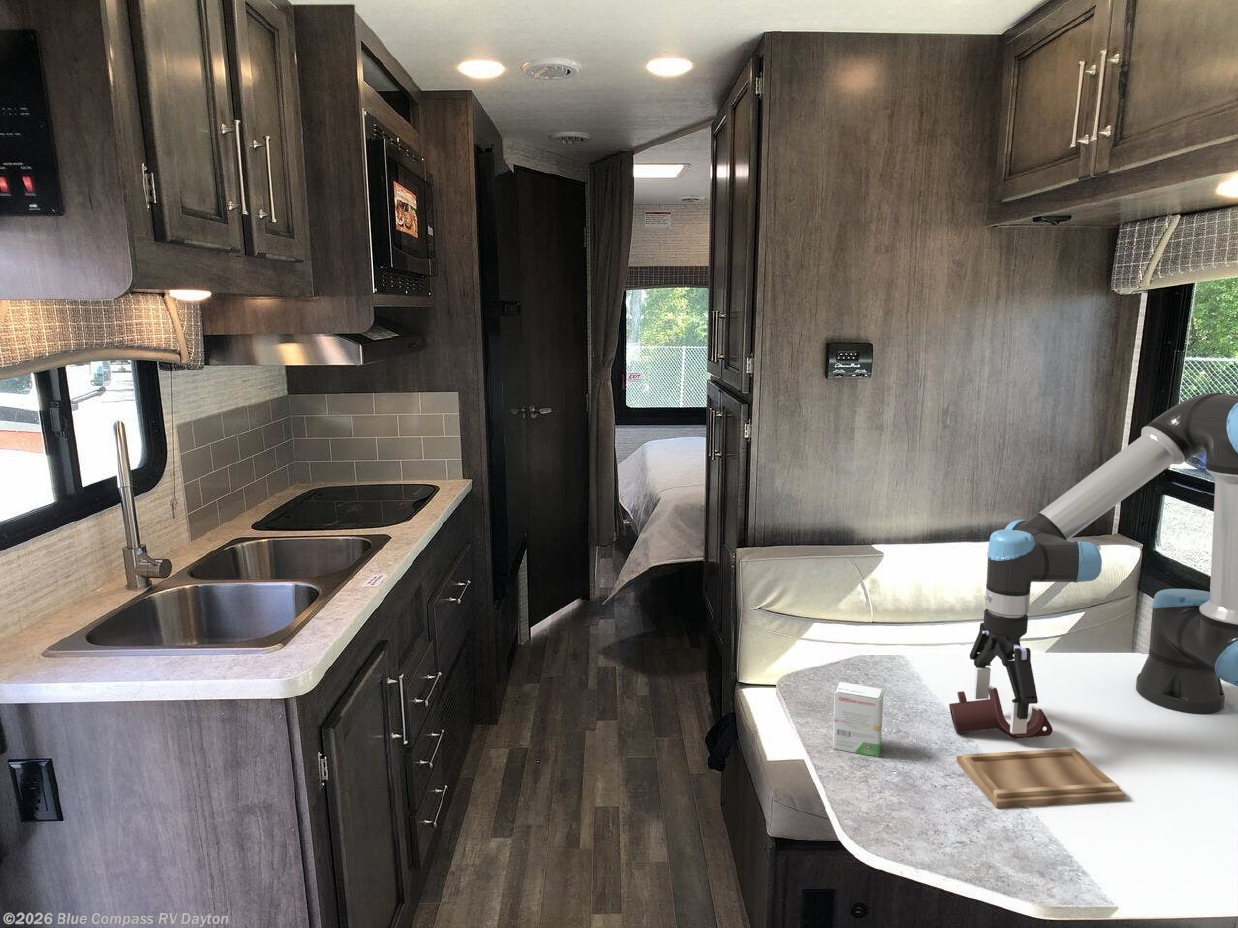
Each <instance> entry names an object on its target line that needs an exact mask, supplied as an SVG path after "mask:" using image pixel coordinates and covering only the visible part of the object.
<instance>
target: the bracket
mask: <svg viewBox="0 0 1238 928" xmlns="http://www.w3.org/2000/svg"><path fill="white" fill-rule="evenodd" d="M988 690H989V699H976V700H971V701H970V700H969V701H968V699H967V696H966V692H965V691H964V690H963V691H957V692H956V693H957V698H958V702H953V703H949V706H948V707H949V711H950V716H951V721H952V725H953V728H954V730H955V733H956V734H960V733H968V732H977V731H985V730H986V731H987V730H996V729H997V730H999V731H1000V732H1002V733H1003V734H1004V735H1006V736H1008V737H1009V738H1010V739H1012V740H1022V739H1031V738H1032V739H1033V738H1041V737H1049V736H1051V735H1052V734H1053V733H1054V729H1053V726H1052V725H1051V723H1050V721H1049V719H1048V718H1047V716H1046V714H1045V713H1044V711H1043V709H1042V708H1040V707H1036V706H1034V705H1032V706H1031V715H1030V718H1029V719H1028V720H1027V729H1026V733H1018V734H1012V733H1011V732H1010V723H1009V722H1008V721H1007V719H1006V717H1005V714H1004V710H1003V707H1002V704H1001V699H1000V696H999V695H1000V694H999V690H998V689H997V687H995V686H994V685H993V686H992V685H990V686H988ZM1044 728H1046V729H1045V730H1044Z"/></svg>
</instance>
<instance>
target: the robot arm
mask: <svg viewBox="0 0 1238 928" xmlns="http://www.w3.org/2000/svg"><path fill="white" fill-rule="evenodd" d="M1140 434H1141V435H1140V437H1138V438H1137V439H1136V440H1134V441H1133V442H1131V443H1130V444H1128V445H1127V446H1126V447H1125V448H1123V449H1122V450H1121V451H1119V452H1118V453H1116V454H1115V455H1114V456H1113V457H1111V458H1109V460H1107V461H1106V462H1104V464H1102V465H1101V466H1099V467H1098V468H1097V469H1095V470H1094V471H1093V472H1091V473H1090V474H1088V475H1087V476H1086V477H1085V478H1082V480H1080V481H1079V482H1078V483H1077V484H1075V485H1074V486H1072V488H1070V489H1069V490H1067V491H1066V492H1065V493H1063V494H1062V495H1060V496H1059V497H1058V498H1056V499H1055V500H1054V501H1052V502H1051V503H1050V504H1048V505H1047V506H1046V507H1045V508H1043V509H1042V510H1040V512H1038V513H1036V514H1035V515H1034V516H1032V517H1031V518H1030V519H1028V520H1027V519H1017V520H1013V521H1011V522H1010V523H1008V525H1006V527H1005V528H1003V529H998V530H996V531H994V532H992V533H991V535H990V536H989V541H988V548H987V552H986V553H987V555H986V556H987V565H986V566H987V567H986V568H987V569H986V584H985V587H986V588H985V595H984V596H983V597H984V598H983V599H984V600H985V601H984V606H985V608H986V609H985V610H984V611H983V622H980V624H979V631H978V633H977V636H976V639H975V641H974V644H973V646H972V648H971V651H970V652H969V659H970V660H973V666H974V667H975V672H974V673H975V674H974V676H975V677H974V691H973V692H974V693H973V698H974V699H975V700H986V699H990V696H989V690H988V686H991V684H990V683H991V672H992V670H991V668H990V667H991V666H992V662H993V660H994V659H995V658H996V657H998V658H999V660H1000V661H1001V664H1002V666H1003V667H1005V669H1006V672H1007V675H1008V678H1009V682H1010V685H1011V689H1012V692H1013V696H1014V698H1013V699H1011V712H1010V723H1009V724H1010V732H1011V733H1012V734H1018V733H1026V729H1027V722H1028V718H1029V711H1030V710H1029V708H1030V707H1029V706H1030V705H1033V704H1035V705H1037V704H1038V703H1039V701H1038V695H1037V690H1036V683H1035V678H1034V673H1033V671H1034V670H1033V668H1032V662H1031V661H1032V660H1031V658H1032V657H1031V656H1032V655H1031V654H1032V653H1031V648H1030V647H1022V645H1021V641H1020V639H1021V638H1022V637H1023V636H1025V635H1026V634H1027V632H1028V626H1029V625H1028V622H1029V615H1028V614H1029V611H1030V602H1031V601H1030V598H1031V596H1030V595H1031V586H1032V583H1075V584H1077V583H1080V582H1081V583H1084V582H1093V581H1095V580H1097V578H1098V577H1099V576H1100V575H1101V572H1102V566H1103V565H1102V564H1103V559H1102V555H1101V553H1100V550H1099V547H1097V546H1096V544H1094V543H1092V542H1089V541H1080V540H1075V541H1071V540H1070V539H1072V538H1073V537H1074V536H1076V535H1077V534H1078V533H1080V532H1081V531H1082V530H1084V529H1085V528H1087V527H1088V526H1089V525H1090V524H1092V523H1093V522H1095V521H1096V520H1097V519H1098V518H1100V517H1101V516H1103V515H1105V513H1107V512H1109V511H1110V510H1111V509H1112V508H1114V507H1115V506H1117V505H1118V504H1119V503H1120V502H1122V501H1123V500H1125V499H1126V498H1127V497H1129V496H1130V495H1131V494H1133V493H1134V492H1136V491H1137V490H1139V489H1140V488H1141V487H1143V486H1144V485H1145V484H1146V483H1148V482H1149V481H1150V480H1153V479H1154V478H1155V477H1156V476H1157V475H1159V474H1160V473H1162V472H1163V471H1164V470H1166V469H1167V468H1168V467H1170V466H1171V465H1182V464H1183V463H1185V462H1186V461H1187V460H1190V459H1191V458H1193V457H1195V456H1197V455H1202V454H1205V471H1206V472H1207V473H1208V474H1210V476H1212V477H1213V478H1214V481H1215V483H1214V497H1213V498H1214V499H1213V500H1214V501H1213V502H1214V503H1213V524H1212V527H1213V528H1212V541H1211V542H1212V543H1211V564H1210V565H1211V567H1210V584H1209V585H1210V587H1209V589H1210V590H1209V591H1206V590H1199V589H1192V588H1191V589H1189V588H1168V589H1167V588H1166V589H1161V590H1159V591H1157V592H1156V593H1155V594H1154V597H1153V602H1152V606H1151V623H1150V633H1149V634H1150V635H1149V647H1148V656H1147V657H1146V660H1145V662H1144V664H1143V666H1142V669H1141V670H1140V673H1138V675H1137V676H1136V680H1135V683H1136V684H1135V690H1136V692H1137V693H1138V694H1139V695H1140V696H1141V697H1142V698H1144V699H1145V700H1146V701H1149V702H1151V703H1153V704H1155V705H1158V706H1161V707H1163V708H1167V709H1171V710H1174V711H1179V712H1185V713H1191V714H1193V713H1194V714H1213V713H1217V712H1219V711H1220V712H1221V711H1222V710H1223V708H1224V707H1225V696H1226V695H1225V691H1224V690H1223V685H1222V682H1221V680H1222V681H1224V682H1227V683H1230V684H1232V685H1233V686H1236V687H1238V394H1231V393H1230V394H1229V393H1225V392H1207V393H1202V394H1198V395H1196V396H1192V397H1190V398H1188V399H1186V400H1184V401H1182V402H1180V403H1178V404H1176V405H1175V406H1173V407H1171V408H1169V409H1167V410H1166V411H1165V412H1163V413H1162V414H1160V415H1159V416H1157V417H1155V418H1154V419H1153V420H1151V422H1149V423H1148V424H1146V425H1145V426H1144V427H1142V428H1141V433H1140ZM1069 540H1070V541H1069Z"/></svg>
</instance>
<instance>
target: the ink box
mask: <svg viewBox="0 0 1238 928" xmlns="http://www.w3.org/2000/svg"><path fill="white" fill-rule="evenodd" d="M833 693H834V697H833V729H832V730H833V731H832V732H833V733H832V734H833V736H832V748H833V749H834V750H839V751H844V752H850V753H854V754H859V755H865V756H870V757H876V758H879V757H880V753H881V748H882V731H883V712H884V711H883V710H884V709H883V707H884V689H883V688H879V687H872V686H866V685H860V684H856V683H849V682H844V681H838V683H837V685H836V686H835V689H834V692H833Z"/></svg>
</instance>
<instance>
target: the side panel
mask: <svg viewBox="0 0 1238 928" xmlns="http://www.w3.org/2000/svg"><path fill="white" fill-rule="evenodd" d="M956 764H958V765H959V767H960V768H961V769H962V770H963V772H965V774H966V775H967V776H968V777H969V778H970V780H972V782H973V783H974V784H975V786H977V787H978V789H979V790H980V791H981V793H983V795H984V796H985V797H986V798H987V799H988V801H989V802H990V803H991V804H992V805H993V806H994V807H995V809H1003V808H1005V809H1006V808H1022V807H1023V808H1024V807H1036V806H1053V805H1069V804H1071V805H1072V804H1084V803H1088V804H1089V803H1099V802H1100V803H1101V802H1102V803H1103V802H1105V803H1106V802H1117V801H1118V802H1119V801H1126V792H1125V791H1123V790H1122V789H1121V788H1119V787H1120V786H1119V785H1118V784H1117V783H1116V782H1115V781H1114V780H1112V779H1111V778H1110V777H1109V776H1107V774H1105V773H1104V772H1103V771H1102V770H1101V769H1100V768H1098V767H1097V766H1096V765H1095V764H1094V763H1092V761H1090V760H1089V759H1088V758H1087V757H1086V756H1084V755H1083V754H1082V752H1080V751H1078V750H1077V749H1076V748H1075V747H1073V748H1071V747H1069V748H1053V749H1036V750H1035V749H1034V750H1020V751H1019V750H1018V751H1017V750H1016V751H1003V752H1002V751H1001V752H985V753H983V752H982V753H970V754H969V753H968V754H967V753H966V754H961V755H956Z"/></svg>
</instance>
